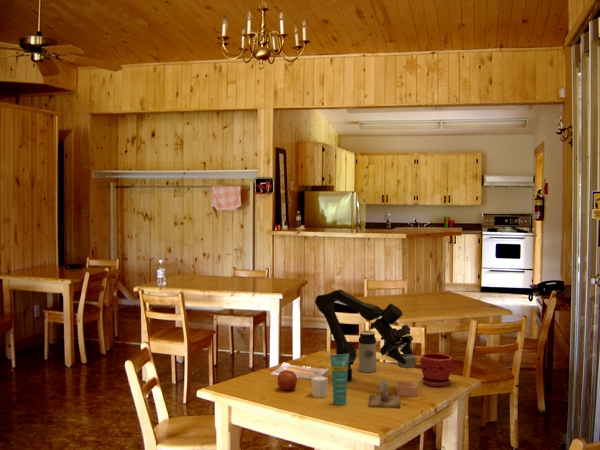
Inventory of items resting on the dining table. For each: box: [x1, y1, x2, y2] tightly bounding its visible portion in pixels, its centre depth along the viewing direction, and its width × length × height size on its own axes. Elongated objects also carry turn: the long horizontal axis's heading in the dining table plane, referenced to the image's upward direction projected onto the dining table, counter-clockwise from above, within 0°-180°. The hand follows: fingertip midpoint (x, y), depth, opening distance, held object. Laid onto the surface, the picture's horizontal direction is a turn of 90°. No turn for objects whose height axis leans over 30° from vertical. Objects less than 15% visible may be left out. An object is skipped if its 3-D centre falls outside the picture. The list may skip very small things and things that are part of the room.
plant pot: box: [420, 352, 453, 387], centre depth 257 cm, size 13×13×12 cm
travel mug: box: [358, 330, 377, 373], centre depth 278 cm, size 8×8×18 cm
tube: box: [329, 354, 349, 406], centre depth 232 cm, size 7×5×19 cm, turn 103°
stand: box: [396, 380, 418, 397], centre depth 245 cm, size 8×8×4 cm
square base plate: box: [368, 380, 401, 409], centre depth 233 cm, size 12×12×8 cm
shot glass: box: [310, 375, 329, 398], centre depth 243 cm, size 7×7×7 cm
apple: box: [277, 369, 298, 391], centre depth 251 cm, size 8×8×8 cm
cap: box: [397, 353, 417, 369], centre depth 244 cm, size 7×7×4 cm
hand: (409, 361), depth 243 cm, fingers closed on cap, 7 cm apart
